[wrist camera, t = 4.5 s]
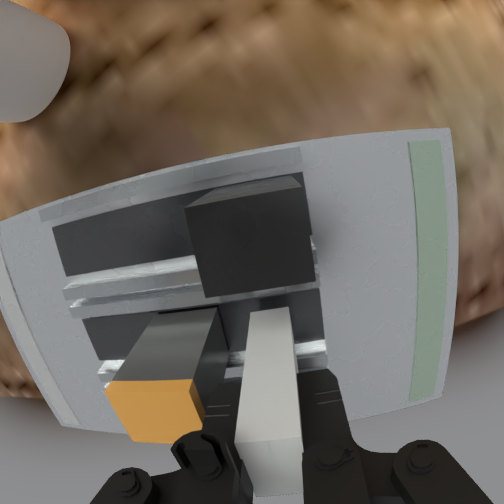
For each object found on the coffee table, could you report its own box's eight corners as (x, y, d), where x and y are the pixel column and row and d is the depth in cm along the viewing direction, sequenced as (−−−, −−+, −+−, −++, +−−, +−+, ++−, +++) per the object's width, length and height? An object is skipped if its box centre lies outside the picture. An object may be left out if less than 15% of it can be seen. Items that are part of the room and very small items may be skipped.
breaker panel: (72, 409, 20) (32, 470, 13) (-5, 224, 16) (-83, 255, 9) (430, 378, 17) (473, 454, 11) (430, 129, 13) (522, 123, 7)
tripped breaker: (170, 359, 15) (132, 441, 10) (154, 314, 14) (104, 391, 9) (229, 353, 15) (210, 444, 9) (217, 307, 14) (188, 391, 9)
